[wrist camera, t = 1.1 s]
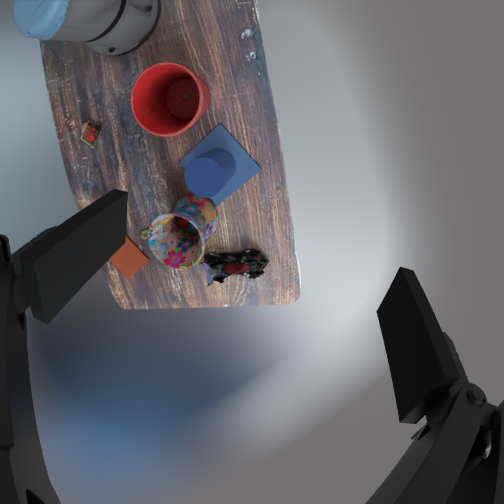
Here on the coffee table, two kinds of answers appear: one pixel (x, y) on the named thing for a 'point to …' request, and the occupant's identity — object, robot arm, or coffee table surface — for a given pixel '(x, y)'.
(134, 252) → the rust mat
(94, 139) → the matchbox
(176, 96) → the flower pot
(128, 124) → the coffee table surface
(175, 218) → the mug
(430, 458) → the robot arm
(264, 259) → the toy car
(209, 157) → the blue tin
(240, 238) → the coffee table surface
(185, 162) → the blue mat
